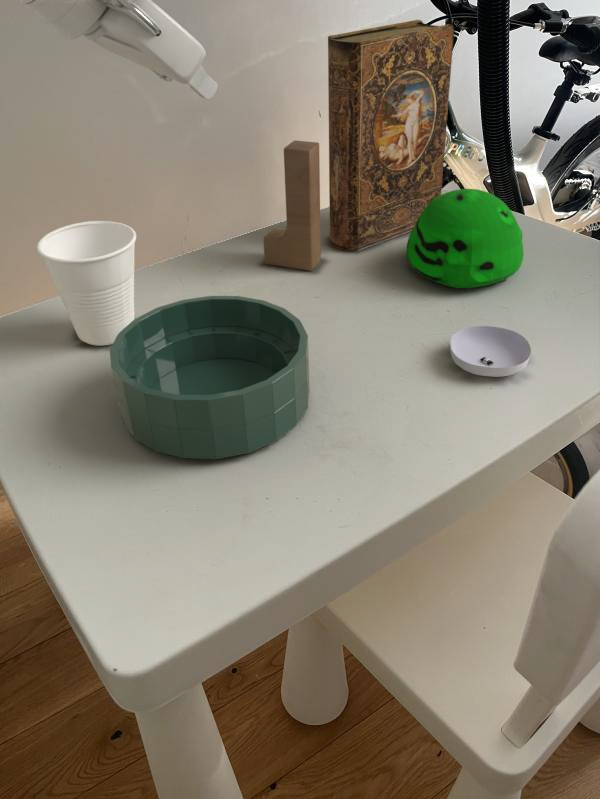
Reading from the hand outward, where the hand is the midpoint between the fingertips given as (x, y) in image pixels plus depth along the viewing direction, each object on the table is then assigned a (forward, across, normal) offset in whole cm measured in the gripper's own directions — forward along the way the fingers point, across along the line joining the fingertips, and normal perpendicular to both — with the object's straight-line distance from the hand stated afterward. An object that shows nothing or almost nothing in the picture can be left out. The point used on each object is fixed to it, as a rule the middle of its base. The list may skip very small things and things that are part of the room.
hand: (190, 83), depth 75 cm
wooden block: (+25, 0, +8) cm, 26 cm away
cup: (+6, -3, +27) cm, 28 cm away
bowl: (+9, -22, +24) cm, 34 cm away
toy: (+36, -14, -3) cm, 39 cm away
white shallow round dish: (+27, -31, +6) cm, 42 cm away
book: (+35, +1, -2) cm, 35 cm away
